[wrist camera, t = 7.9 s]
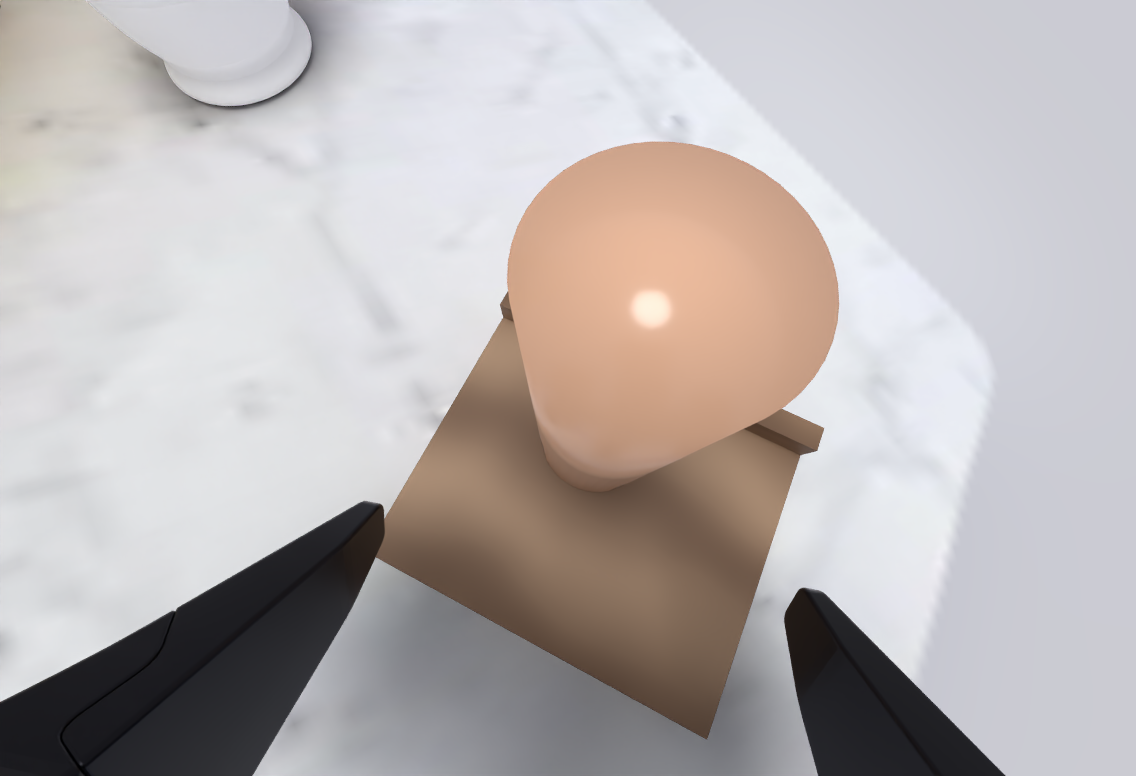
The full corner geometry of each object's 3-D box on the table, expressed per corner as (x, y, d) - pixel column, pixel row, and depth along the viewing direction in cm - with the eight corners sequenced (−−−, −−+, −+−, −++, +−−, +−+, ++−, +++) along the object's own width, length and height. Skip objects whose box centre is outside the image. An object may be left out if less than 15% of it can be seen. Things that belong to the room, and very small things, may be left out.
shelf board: (689, 714, 17) (719, 758, 14) (385, 547, 18) (351, 553, 15) (783, 441, 20) (824, 428, 17) (517, 318, 22) (511, 285, 19)
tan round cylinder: (603, 516, 17) (711, 516, 5) (518, 440, 18) (437, 285, 6) (673, 430, 18) (899, 261, 6) (589, 362, 19) (644, 94, 7)
